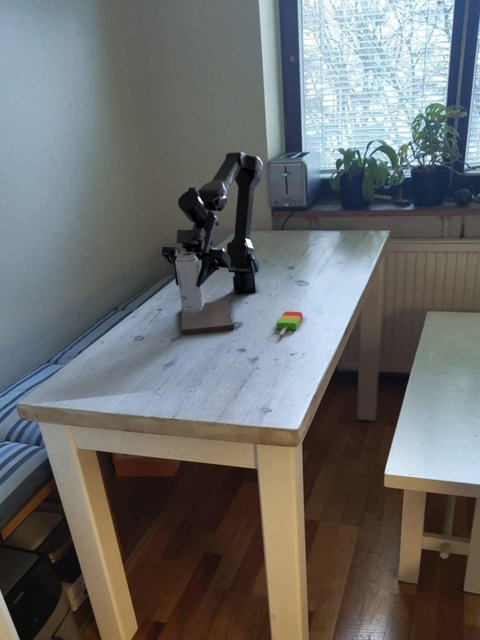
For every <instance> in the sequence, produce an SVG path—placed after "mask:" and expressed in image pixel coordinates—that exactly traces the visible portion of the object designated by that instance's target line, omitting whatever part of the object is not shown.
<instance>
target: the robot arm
mask: <svg viewBox="0 0 480 640" xmlns="http://www.w3.org/2000/svg"><path fill="white" fill-rule="evenodd" d="M263 172H264V163H263V161H262V160H261V159H260V157H259V156H257V155H256V156H255V155H253V156H252V155H249V154H246V153H245V152H242V151H232V152H231V151H229V152H228V153H226V154H225V159H224V161H223V162H222V164H221V166H220V167H219V169H218V170H217V172H216V174H215V175H214V177H213V178H212V180H210V181H209V182H207V183H205V184H203V185H202V186H201V187H200V188H199V189H197V187H196V186H195V187H193V186H192V187H191V186H190V187H188V190H187V191H185V192H184V193H182V194H181V196H180V197H179V198H178V200H177V205H178V207H179V209H180V210H181V211H182V213H183V214H184V215H185V217H186V218H187V219H188V220H189V221H190V222H191V223H193V224H192V226H191V229H177V230H176V238H175V243H176V244H181V247H182V249H184V251H183V250H180V249H179V248H178V247H177V246H176V245H167V244H165V245H163V246H162V247H161V249H160V252H159V254H160V256H161V257H162V258H163V259H164V260H165V261H166V262H167V263H168V264H169V265H173V268H174V279H175V285H176V286H177V287H179V284H178V277H177V270H176V263H175V261H176V259H177V254H179V253H182V252H194V253H195V255H196V257H197V258H198V261H201V265H200V268H199V269H200V273H199V276H198V280H197V287H200V286H203V284H204V283H205V282H206V281H207V280H208V278H210V277H211V276H212V275H213V274H214V273H215V272H216V271H220V268H221V269H222V268H223V269H227V270H228V273H233V275H232V287H233V291H234V292H235V294H236V295H241V294H252V293H257V287H256V275H255V274H257V273H259V270H260V262H259V260H258V259H257V257H256V255H255V248H254V246H253V243H252V241H251V231H252V219H253V207H254V196H255V189H256V187H257V186H258V185H259V183H260V182H261V179H262V173H263ZM234 181H235V183H236V185H237V196H236V197H237V198H236V208H235V209H236V210H235V219H234V220H235V222H234V233H233V235H234V236H233V239H232V240H231V241H228V242H227V244H226V251H225V249H224V248H223V247H222V248H221V247H211V248H210V246H213V244H214V241H213V239H212V238H213V235H214V231H215V227H219V226H220V222H219V220H218V217H217V215H216V214H214V212H222V211H223V210H224V209H225V207H226V205H227V202H228V195H227V193H228V191H229V189H230V187H231V186H232V184H233V182H234Z"/></svg>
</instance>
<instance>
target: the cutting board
mask: <svg viewBox="0 0 480 640" xmlns="http://www.w3.org/2000/svg"><path fill="white" fill-rule="evenodd" d="M180 308H181V331H182V336H187V335H196V334H206V333H215V332H224V331H234V330H235V325H234V321H233V317H232V312H231V309H230V308H231V307H230V304H229V300H224V301H214V302H204V306H203V307H202V310H201V311H199V312H195V313H187V312H185V311H184V309H183V308H182V305H180Z"/></svg>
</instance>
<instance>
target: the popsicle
mask: <svg viewBox="0 0 480 640" xmlns="http://www.w3.org/2000/svg"><path fill="white" fill-rule="evenodd" d="M302 320H303V312H301V311H284V312H283V313H282V314H281V316H280V318H279V319H278V321H277V322H276V323H275V325H276V326H275V327H276V329H277V330H280V332H279V334H278V335H279V336H284V334H285V332H286V331H287V330H290V331H291V330H292V331H296V330H297V328H298V327H299V325H300V324H301V322H302Z"/></svg>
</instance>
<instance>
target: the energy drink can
mask: <svg viewBox="0 0 480 640" xmlns="http://www.w3.org/2000/svg"><path fill="white" fill-rule="evenodd" d="M175 263H176V270H177V277H178V284H179V286H178V289H179V296H180V297H179V298H180V304H181V306H182V308H183V309H184V311H185V312H187V313H195V312H199V311H201V310H202V307H203V306H204V303H205V302H204V296H203V295H204V294H203V287H202V286H203V285H201V286H200V287H197V280H198V276H199V273H200V269H201V268H200V260H198V258H197V257H196V255H195V253H194V252H186V251H184V252H182V253H179V254H177V259H176V261H175Z"/></svg>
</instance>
